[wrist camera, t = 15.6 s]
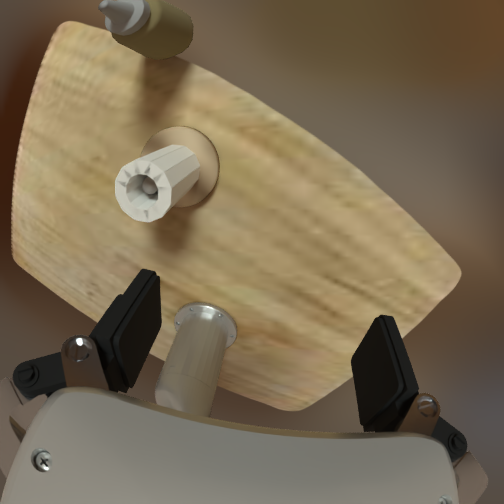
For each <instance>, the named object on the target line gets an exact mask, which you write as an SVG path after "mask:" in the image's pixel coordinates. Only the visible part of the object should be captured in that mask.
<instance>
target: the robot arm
mask: <svg viewBox="0 0 504 504" xmlns="http://www.w3.org/2000/svg"><path fill="white" fill-rule="evenodd" d="M161 323H162V319H161V299H160V277H159V276H157V275H156V272H155V271H151V270H147V269H142V270H141V271H140V272H139V273H138V275H137V276H136V277H135V279H134V280H133V281H132V283H131V284H130V286H129V287H128V288H127V290H126V291H125V292H124V294H123V295H122V294H119V295H118V296H117V297H116V298H115V300H114V301H113V302H112V304H111V305H110V307H109V308H108V309H107V311H106V312H105V314H104V315H103V316H102V318H101V319H100V321H99V322H98V324H97V325H96V326H95V328H94V329H93V331H92V332H91V334H90V335H89V337H88V336H85V335H74V336H72V337H69V338H68V339H67V340H66V341H65V342H64V343H63V344H62V347H61V352H58V353H55V354H51V355H47V356H44V357H40V358H36V359H33V360H29V361H25V362H23V363H21V364H19V365H18V366H17V367H16V369H15V370H14V373H13V377H12V378H10V379H9V378H8V377H6V378H5V379H3V380H1V381H0V468H1V470H2V472H3V473H4V475H5V477H6V479H7V481H6V484H5V488H4V491H3V495H2V499H1V502H0V504H475V502H476V501H477V500H478V499H479V497H480V496H481V494H482V493H483V491H484V490H485V489H486V487H487V484H488V477H487V475H486V473H485V472H484V470H483V469H482V467H481V466H480V465H479V463H478V462H477V460H476V459H475V458H474V456H473V455H472V453H471V452H470V451H468V452H466V450H467V441H466V439H465V437H464V435H463V434H462V433H461V432H459V431H458V430H457V429H455V428H454V427H453V426H451V425H450V424H449V423H448V422H446V421H445V420H443V419H442V418H441V417H440V416H439V415H440V405H439V402H438V401H437V400H436V398H435V397H434V396H432V395H430V394H428V393H420V394H419V392H418V389H419V387H418V384H417V381H416V378H415V375H414V372H413V369H412V366H411V363H410V360H409V357H408V355H407V352H406V349H405V346H404V343H403V341H402V338H401V335H400V333H399V330H398V327H397V325H396V322H395V320H394V318H393V317H392V316H387V315H380V316H379V317H376V318H375V319H374V321H373V323H372V325H371V326H370V328H369V330H368V331H367V333H366V335H365V337H364V338H363V340H362V342H361V343H360V345H359V347H358V348H357V350H356V351H355V353H354V355H353V356H352V359H351V366H352V372H353V378H354V384H355V390H356V396H357V403H358V411H359V418H360V424H361V425H363V428H364V432H370V431H371V432H372V433H331V432H310V431H296V430H285V429H275V428H267V427H259V426H252V425H246V424H239V423H234V422H228V421H222V420H217V419H213V418H210V414H211V409H212V405H213V400H214V396H215V391H216V387H217V383H218V378H219V374H220V370H221V365H222V361H223V357H224V352H225V348H227V347H229V346H231V345H232V344H233V343H234V341H235V339H236V335H237V326H236V324H235V321H234V320H233V318H232V317H231V316H230V315H229V314H228V313H227V312H225V311H224V310H223V309H221V308H219V307H217V306H214V305H211V304H207V303H199V302H198V303H190V304H187V305H185V306H183V307H182V308H180V309H179V311H178V312H177V314H176V316H175V320H174V325H175V328H176V331H177V334H176V337H175V339H174V341H173V344H172V346H171V349H170V351H169V354H168V356H167V358H166V361H165V363H164V366H163V368H162V371H161V374H160V376H159V379H158V381H157V384H156V387H155V399H156V403H157V404H153V403H149V402H147V401H143V400H140V399H137V398H134V397H130V396H127V395H123V394H120V393H118V391H121V392H124V393H127V390H128V388H129V387H130V388H132V387H133V386H134V384H135V382H136V380H137V378H138V375H139V373H140V371H141V369H142V367H143V364H144V362H145V360H146V358H147V356H148V354H149V351H150V349H151V347H152V345H153V343H154V341H155V339H156V337H157V335H158V332H159V330H160V328H161ZM29 425H30V426H29ZM28 426H29V429H28V430H27V428H28ZM26 430H27V432H26ZM374 431H375V432H374Z"/></svg>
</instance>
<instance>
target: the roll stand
mask: <svg viewBox="0 0 504 504" xmlns="http://www.w3.org/2000/svg"><path fill="white" fill-rule="evenodd" d="M170 145H182V146H186V147H187V148H188V149H190V150H191V151H192V152H193V153H195V155H196V157H197V159H198V162H199V164H200V172H199V179H198V180H197V182H196V183H195V184H194V186H193V187H192V188H191V189H190V190H189V191H188V192H187V193H186V194H185V195H184V196H183V197H182V198H181V199H180V200H179V201H178V202H177V203H176V204H175V205H174V206H173V207H188V206H191V205H194V204H196V203H198V202H200V201H201V200H203V199H204V198H205V197H206V196H207V195H208V194H209V193H210V191H211V190H212V189H213V187H214V186H215V184H216V182H217V179H218V175H219V168H220V164H219V157H218V154H217V151H216V149H215V147H214V145H213V144H212V142H211V141H210V140H209V138H208V137H206V136H205V135H204V134H203V133H201V132H200V131H198V130H196V129H193V128H190V127H185V126H177V127H171V128H167V129H164V130H162V131H160V132H158V133H156V134H155V135H154V136H152V137H151V138H150V139H149V141H148V142H147V143H146V145H145V147H144V148H143V151H142V153H141V157H143V156H145V155H148V154H150V153H152V152H155V151H157V150H160V149H162V148H165V147H167V146H170ZM141 157H140V158H141ZM142 188H143V190H144V191H145V192H146V193H148V194H153V193H155V192H156V191H157V190H158V188H157V186H156V184H155V181H154V180H153V179H151V178H150V177H147V178H145V179H144V180H143V182H142Z"/></svg>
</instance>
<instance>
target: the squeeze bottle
mask: <svg viewBox="0 0 504 504" xmlns="http://www.w3.org/2000/svg"><path fill="white" fill-rule="evenodd" d="M98 9H99V10H100V11H101V12H102V13H103V14H105V15H106V19H105V25H106V28H107V29H108V30H109V31H110V32H111V33H112V37H113V38H114V39H115V40H116V41H117V42H118V43H120V44H122V45H124V46H126V47H128V48H130V49H132V50H134V51H136V52H138V53H140V54H142V55H144V56H146V57H148V58H151V59H155V60H158V59H167V58H170V57H172V56H175V55H177V54H179V53H182V52H183V51H184V50H185V49H186V48H188V47H189V45H190V43H191V41H192V37H193V23H192V20H191V17H190V16H189V15H188V14H187V13H185V12H184V11H183V10H181V9H179V8H177V7H175V6H173V5H171V4H169V3H167V2H165V1H163V0H118V1H111V0H104V1H102V2H101V3H100V5H99V7H98Z"/></svg>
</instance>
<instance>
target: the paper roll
mask: <svg viewBox="0 0 504 504" xmlns="http://www.w3.org/2000/svg"><path fill="white" fill-rule="evenodd" d="M199 172H200V164H199V162H198V159H197V157H196V155H195V153H193V152H192V151H191V150H190V149H188V148H187V147H186V146H182V145H170V146H167V147H165V148H162V149H160V150H157V151H155V152H152V153H150V154H148V155H145V156H143V157H141V158H138V159H136V160H134V161H132V162H130V163H129V164H127V165H125V166H123V167H122V168H121V170H120V172H119V174H118V176H117V178H116V180H115V196H116V198H117V200H118V203H119V205H120V207H121V209H122V210H123V211H124V212H125V213H126V214H128V215H129V216H130V217H131V218H133V219H135V220H138V221H143V222H148V223H149V222H152V221H154V220H157V219H159V218H162V217H163V216H164V215H165V214H166V213H167V212H168V211H169V210H170V209H171V208H172V207H173V206H174V205H175V204H176V203H177V202H178V201H179V200H180V199H181V198H182V197H183V196H184V195H185V194H186V193H187V192H188V191H189V190H190V189H191V188H192V187H193V186H194V184H195V183H196V182H197V180H198V179H199ZM147 177H150V178H151V179H153V180H154V181H155V184H156V186H157V188H158V190H157V191H156V192H155V193H153V194H148V193H146V192H145V191H144V190H143V188H142V182H143V180H144V179H145V178H147Z"/></svg>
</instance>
